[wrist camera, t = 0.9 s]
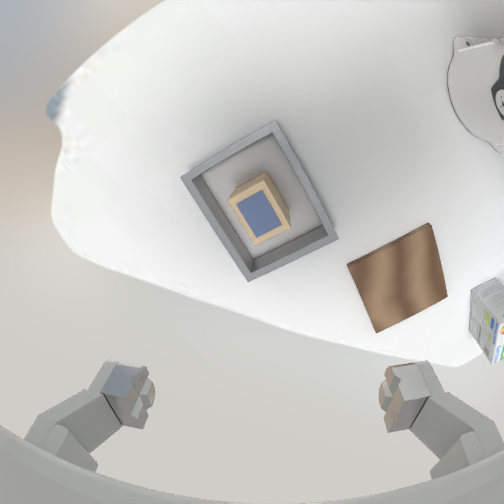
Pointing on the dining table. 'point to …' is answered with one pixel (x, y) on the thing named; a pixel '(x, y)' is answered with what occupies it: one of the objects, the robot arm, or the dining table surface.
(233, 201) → the box
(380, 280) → the board
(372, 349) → the dining table surface
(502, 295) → the light bulb box
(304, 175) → the bin
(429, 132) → the dining table surface
